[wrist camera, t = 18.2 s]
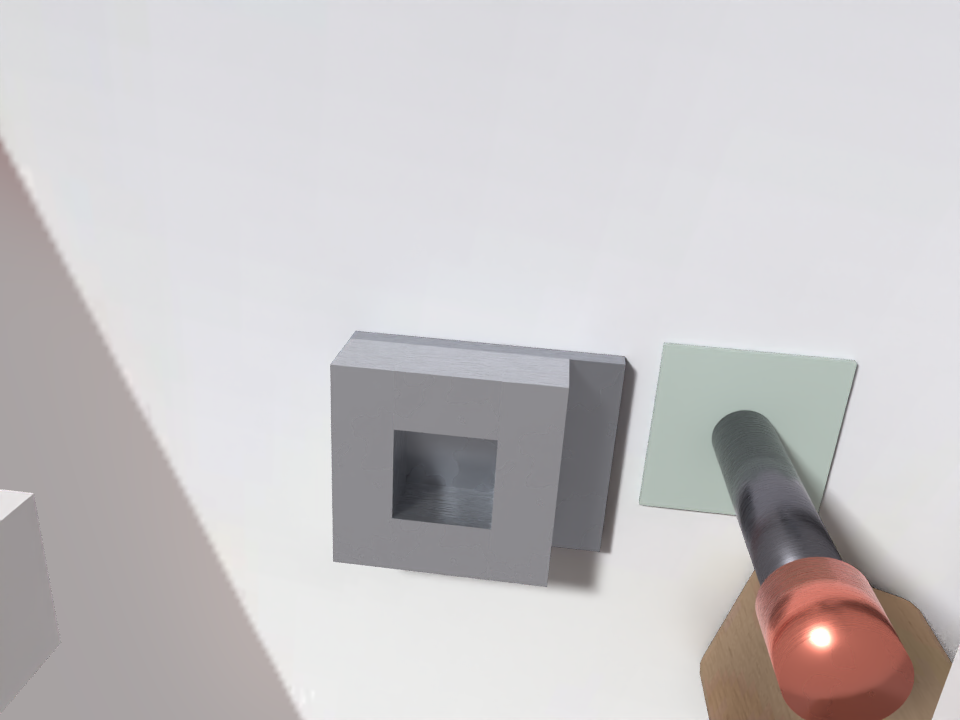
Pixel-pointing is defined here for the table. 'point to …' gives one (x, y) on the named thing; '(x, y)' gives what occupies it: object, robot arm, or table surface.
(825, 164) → the table surface
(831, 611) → the red capped rod
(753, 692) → the wooden block
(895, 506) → the table surface
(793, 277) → the table surface
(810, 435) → the mat
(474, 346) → the grey hollow block
